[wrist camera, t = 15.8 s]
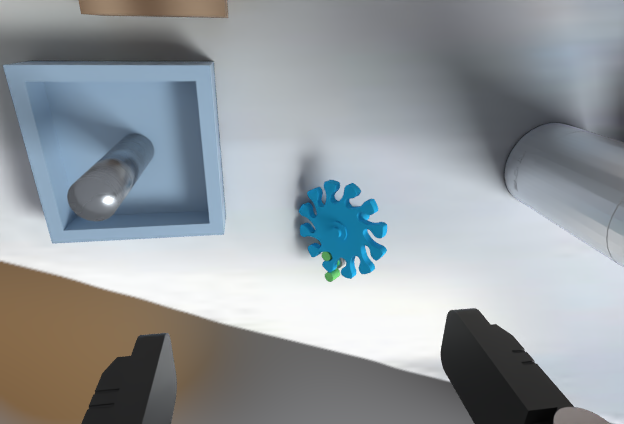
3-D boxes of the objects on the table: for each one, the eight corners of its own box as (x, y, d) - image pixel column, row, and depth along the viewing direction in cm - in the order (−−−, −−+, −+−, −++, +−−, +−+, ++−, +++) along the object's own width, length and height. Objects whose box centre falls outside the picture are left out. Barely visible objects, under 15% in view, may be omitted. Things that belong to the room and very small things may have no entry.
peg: (151, 132, 37) (113, 177, 26) (156, 165, 38) (121, 220, 27) (116, 133, 36) (62, 179, 26) (122, 166, 38) (73, 222, 27)
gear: (306, 165, 40) (395, 213, 35) (340, 154, 44) (423, 196, 40) (284, 256, 45) (359, 307, 41) (317, 238, 49) (387, 282, 45)
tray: (213, 61, 36) (209, 65, 33) (225, 216, 42) (223, 234, 39) (28, 60, 34) (2, 64, 30) (69, 224, 40) (52, 243, 37)
